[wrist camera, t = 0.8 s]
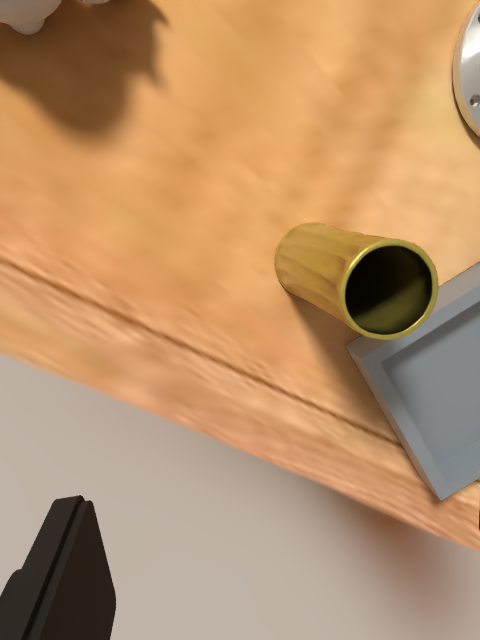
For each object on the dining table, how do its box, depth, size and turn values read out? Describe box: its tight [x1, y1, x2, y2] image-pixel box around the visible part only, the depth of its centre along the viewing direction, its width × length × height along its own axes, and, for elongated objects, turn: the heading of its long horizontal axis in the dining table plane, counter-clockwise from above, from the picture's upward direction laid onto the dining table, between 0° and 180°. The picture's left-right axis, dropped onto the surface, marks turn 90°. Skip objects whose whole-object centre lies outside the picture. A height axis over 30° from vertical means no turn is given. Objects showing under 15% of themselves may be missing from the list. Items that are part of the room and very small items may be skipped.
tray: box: [345, 262, 480, 501], centre depth 38 cm, size 16×16×4 cm
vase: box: [275, 223, 438, 340], centre depth 29 cm, size 6×6×14 cm
